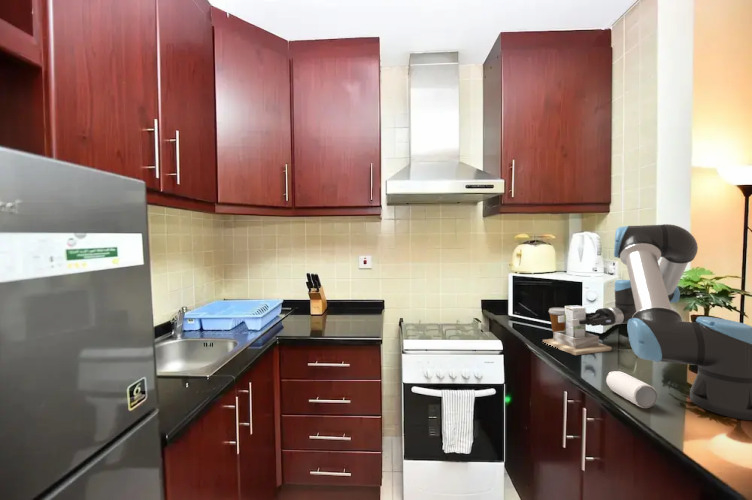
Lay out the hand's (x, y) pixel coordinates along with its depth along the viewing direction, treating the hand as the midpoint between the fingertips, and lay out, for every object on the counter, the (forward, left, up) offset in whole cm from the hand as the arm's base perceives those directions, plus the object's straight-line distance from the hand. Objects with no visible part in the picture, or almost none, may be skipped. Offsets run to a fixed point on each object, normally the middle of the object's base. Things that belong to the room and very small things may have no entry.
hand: (565, 321), depth 144 cm
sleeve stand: (+4, -2, -11) cm, 13 cm away
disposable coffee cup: (+22, +11, -12) cm, 28 cm away
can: (-42, -35, -8) cm, 55 cm away
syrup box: (+5, -2, -9) cm, 10 cm away
